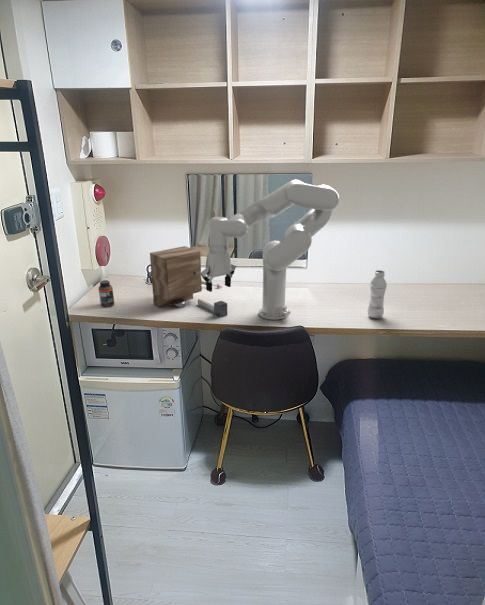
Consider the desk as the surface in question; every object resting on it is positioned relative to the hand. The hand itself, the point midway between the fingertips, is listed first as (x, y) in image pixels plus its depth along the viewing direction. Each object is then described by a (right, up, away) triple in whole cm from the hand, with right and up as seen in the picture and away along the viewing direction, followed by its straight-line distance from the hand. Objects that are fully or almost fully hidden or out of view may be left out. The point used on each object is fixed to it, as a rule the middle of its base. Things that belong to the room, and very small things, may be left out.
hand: (218, 288), depth 190 cm
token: (-18, -8, +14) cm, 24 cm away
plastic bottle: (+65, -12, +2) cm, 67 cm away
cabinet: (-19, -6, +17) cm, 26 cm away
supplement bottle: (-51, -7, +15) cm, 53 cm away
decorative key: (-9, +1, +38) cm, 39 cm away
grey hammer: (-4, -9, +9) cm, 14 cm away
